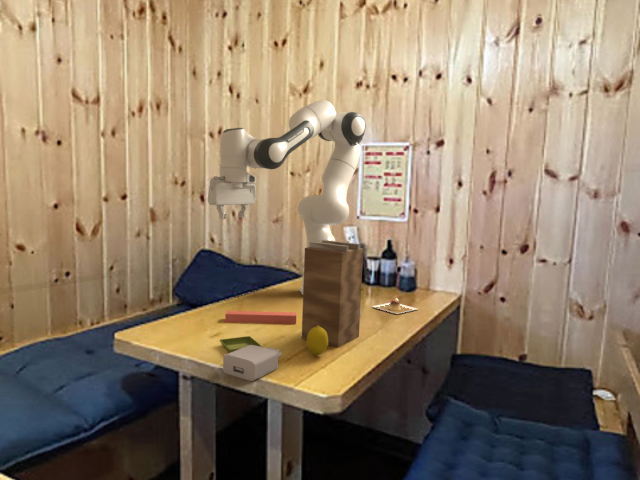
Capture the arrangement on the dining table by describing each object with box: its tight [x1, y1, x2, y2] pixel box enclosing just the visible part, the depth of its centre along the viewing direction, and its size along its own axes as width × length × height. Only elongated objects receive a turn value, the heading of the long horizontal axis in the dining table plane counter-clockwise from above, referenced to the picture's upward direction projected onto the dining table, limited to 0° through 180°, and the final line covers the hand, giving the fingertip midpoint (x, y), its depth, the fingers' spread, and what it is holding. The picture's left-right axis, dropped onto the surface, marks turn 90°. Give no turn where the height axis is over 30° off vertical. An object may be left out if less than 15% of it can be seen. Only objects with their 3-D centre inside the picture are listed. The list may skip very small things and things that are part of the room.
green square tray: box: [219, 335, 262, 353], centre depth 131 cm, size 9×9×2 cm
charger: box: [222, 345, 283, 382], centre depth 118 cm, size 5×9×15 cm
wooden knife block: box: [301, 240, 364, 348], centre depth 141 cm, size 12×12×28 cm
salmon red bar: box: [224, 310, 297, 325], centre depth 157 cm, size 4×22×3 cm, turn 92°
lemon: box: [306, 326, 329, 357], centre depth 127 cm, size 6×6×8 cm
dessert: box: [371, 297, 418, 315], centre depth 178 cm, size 12×12×5 cm
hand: (232, 218), depth 168 cm, fingers open, 8 cm apart
